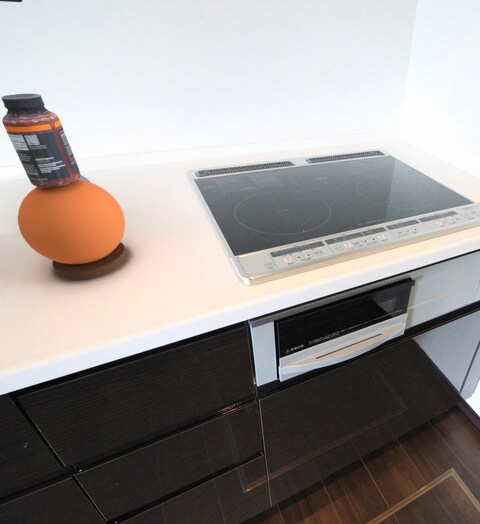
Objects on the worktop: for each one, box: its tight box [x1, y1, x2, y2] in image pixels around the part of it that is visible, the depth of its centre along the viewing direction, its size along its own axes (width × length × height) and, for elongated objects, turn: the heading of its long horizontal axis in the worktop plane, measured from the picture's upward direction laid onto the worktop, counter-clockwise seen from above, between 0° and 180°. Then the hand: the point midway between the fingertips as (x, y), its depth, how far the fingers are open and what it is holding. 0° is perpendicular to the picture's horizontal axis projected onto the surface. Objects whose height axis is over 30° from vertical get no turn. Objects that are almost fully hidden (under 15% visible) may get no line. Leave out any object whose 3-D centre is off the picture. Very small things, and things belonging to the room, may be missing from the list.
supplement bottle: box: [0, 93, 82, 188], centre depth 49 cm, size 6×6×11 cm
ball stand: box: [17, 180, 128, 281], centre depth 56 cm, size 13×13×14 cm
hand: (8, 0), depth 50 cm, fingers open, 9 cm apart
